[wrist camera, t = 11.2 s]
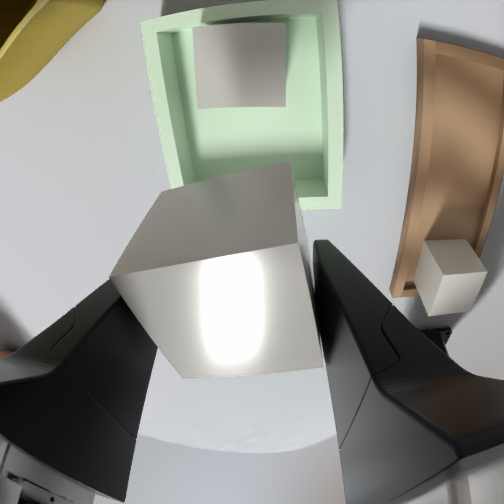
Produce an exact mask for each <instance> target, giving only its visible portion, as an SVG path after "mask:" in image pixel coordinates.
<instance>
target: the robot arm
mask: <svg viewBox="0 0 504 504" xmlns="http://www.w3.org/2000/svg"><path fill="white" fill-rule="evenodd" d="M313 276H314V290H315V300H316V308H317V316H318V323H319V331H320V337H321V342H322V348H323V353H324V359H325V364H326V370H327V376H328V381H329V387H330V393H331V399H332V405H333V412H334V418H335V425H336V431H337V438H338V445H339V449H340V451H339V452H340V460H341V467H342V475H343V483H344V491H345V499H346V504H504V380H499V379H493V378H487V377H482V376H477V375H474V374H472V373H470V372H468V371H466V370H465V369H463V368H462V367H460V366H459V365H458V364H457V363H455V361H453V360H452V359H451V358H450V357H449V355H448V352H447V349H446V346H445V345H446V343H447V341H448V339H449V337H450V335H451V333H452V331H451V328H449V327H448V328H441V329H433V330H426V331H419V330H418V329H417V328H416V327H415V326H414V325H413V324H412V323H411V322H410V321H409V320H408V319H407V318H406V317H405V316H404V315H403V314H402V313H401V312H400V311H399V310H398V309H397V308H396V307H395V306H394V305H392V303H391V302H390V301H389V300H388V299H387V298H386V297H385V296H384V295H383V294H382V293H381V292H380V291H379V290H378V289H377V288H376V287H375V286H374V285H373V284H372V283H371V282H370V281H369V280H368V278H367V277H366V276H365V275H364V274H363V273H362V272H361V271H360V270H358V269H357V268H356V267H355V266H354V265H353V264H352V263H351V262H350V261H349V260H348V259H347V258H346V257H345V256H344V255H343V254H342V253H341V252H340V251H339V250H338V249H337V248H336V247H335V246H334V245H333V244H332V243H331V242H330V241H329V240H315V241H314V244H313ZM157 349H158V347H157V345H156V344H155V343H154V341H153V340H152V339H151V337H150V336H149V335H148V333H147V332H146V330H145V329H144V328H143V326H142V325H141V323H140V322H139V321H138V319H137V318H136V316H135V315H134V314H133V312H132V311H131V309H130V308H129V306H128V305H127V303H126V302H125V301H124V299H123V298H122V296H121V295H120V293H119V292H118V290H117V289H116V287H115V286H114V284H113V282H112V281H111V279H109V280H108V281H106V282H105V283H104V284H102V285H101V286H100V287H99V288H97V289H96V290H95V291H94V292H92V293H91V294H90V295H88V296H87V297H86V298H85V299H83V300H82V301H81V302H80V303H78V304H77V305H76V306H75V307H73V308H72V309H71V310H70V311H68V312H67V313H66V314H65V315H64V316H62V317H61V318H60V319H58V320H57V321H56V322H55V323H53V324H52V325H51V326H49V327H48V328H47V329H45V330H44V331H43V332H41V333H40V334H38V335H37V336H36V337H34V338H33V339H32V340H30V341H29V342H28V343H26V344H25V345H23V346H22V347H21V348H19V349H18V350H17V351H15V352H14V353H12V354H11V355H9V356H7V357H5V358H2V359H0V504H93V500H94V496H95V494H97V495H100V496H103V497H106V498H110V499H113V500H117V501H120V502H123V503H124V502H125V498H126V492H127V486H128V480H129V475H130V470H131V465H132V459H133V454H134V449H135V444H136V438H137V434H138V429H139V424H140V420H141V415H142V411H143V406H144V402H145V398H146V393H147V389H148V385H149V381H150V377H151V372H152V368H153V364H154V360H155V357H156V353H157Z"/></svg>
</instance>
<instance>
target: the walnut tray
mask: <svg viewBox="0 0 504 504" xmlns="http://www.w3.org/2000/svg"><path fill="white" fill-rule="evenodd" d="M503 173H504V59H503V58H500V57H497V56H493V55H490V54H487V53H483V52H480V51H476V50H473V49H469V48H465V47H461V46H457V45H452V44H448V43H443V42H439V41H434V40H428V39H420V38H417V103H416V122H415V136H414V147H413V158H412V167H411V175H410V183H409V191H408V198H407V204H406V211H405V217H404V223H403V228H402V234H401V239H400V244H399V249H398V254H397V259H396V264H395V268H394V273H393V277H392V281H391V285H390V292H391V295H392V298H397V297H409V296H420V295H419V293H418V290H417V288H416V286H415V283H414V281H413V280H414V277H415V273H416V270H417V266H418V262H419V258H420V254H421V250H422V246H423V242H424V240H454V239H466V240H467V242H468V243H469V245H470V246H471V247H472V249H473V250H474V252H475V253H476V255H477V256H478V258H480V255H481V252H482V249H483V246H484V243H485V240H486V237H487V234H488V231H489V227H490V224H491V221H492V217H493V214H494V210H495V207H496V203H497V199H498V195H499V191H500V187H501V182H502V178H503Z"/></svg>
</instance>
